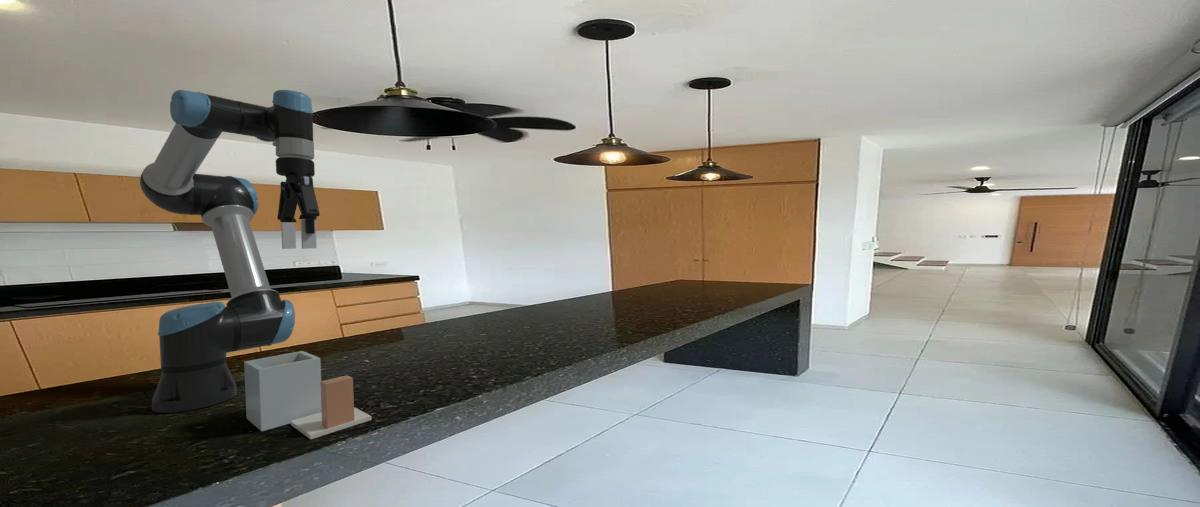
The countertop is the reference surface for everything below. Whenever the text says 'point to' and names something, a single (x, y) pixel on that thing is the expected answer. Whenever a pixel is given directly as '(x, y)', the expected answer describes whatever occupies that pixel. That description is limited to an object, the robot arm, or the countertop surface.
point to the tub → (282, 389)
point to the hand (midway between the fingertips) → (298, 248)
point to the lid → (332, 410)
